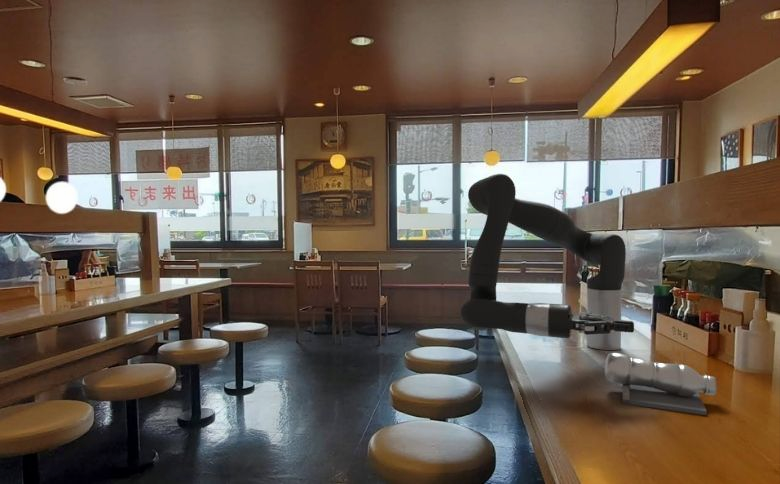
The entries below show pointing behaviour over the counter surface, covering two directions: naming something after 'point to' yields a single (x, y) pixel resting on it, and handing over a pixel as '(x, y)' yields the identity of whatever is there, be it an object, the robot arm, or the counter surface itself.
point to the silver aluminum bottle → (657, 375)
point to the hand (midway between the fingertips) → (633, 326)
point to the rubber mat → (662, 399)
